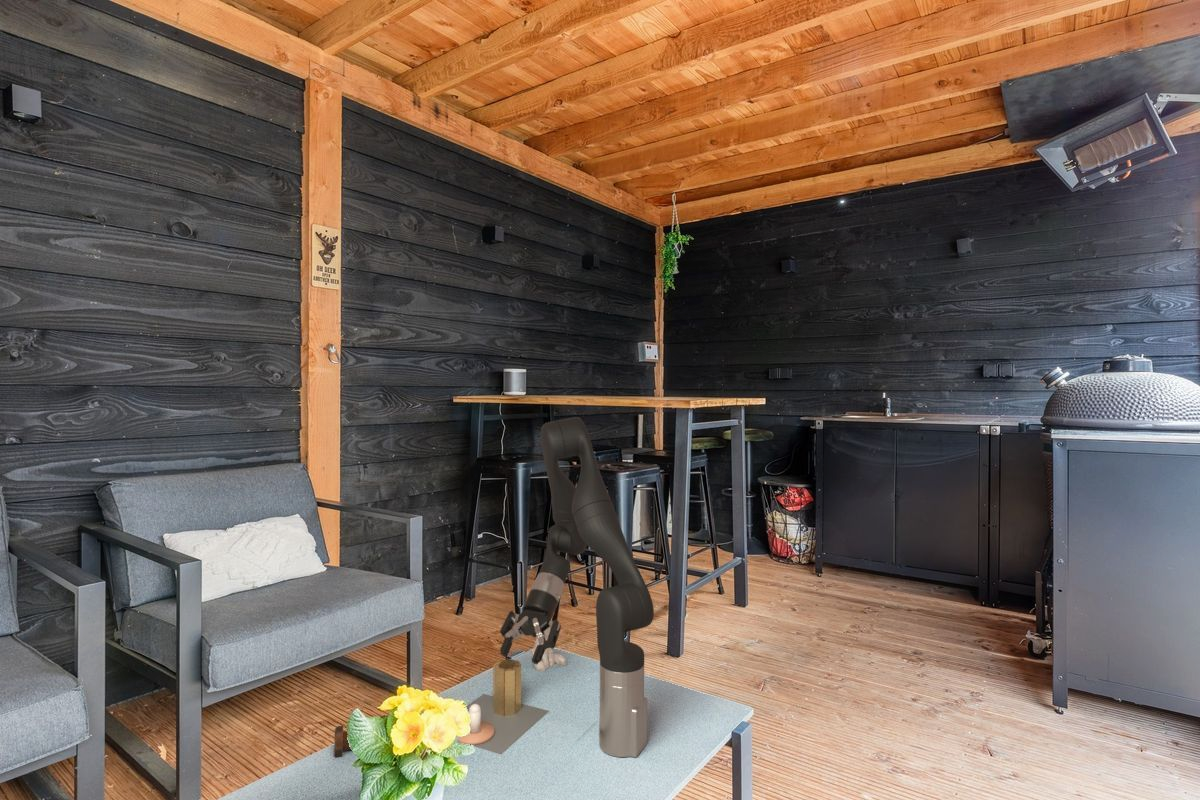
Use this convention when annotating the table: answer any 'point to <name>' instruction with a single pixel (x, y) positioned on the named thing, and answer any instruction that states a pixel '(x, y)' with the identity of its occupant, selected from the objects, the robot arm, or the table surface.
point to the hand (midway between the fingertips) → (518, 659)
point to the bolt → (340, 741)
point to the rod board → (498, 725)
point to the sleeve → (507, 687)
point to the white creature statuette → (548, 656)
